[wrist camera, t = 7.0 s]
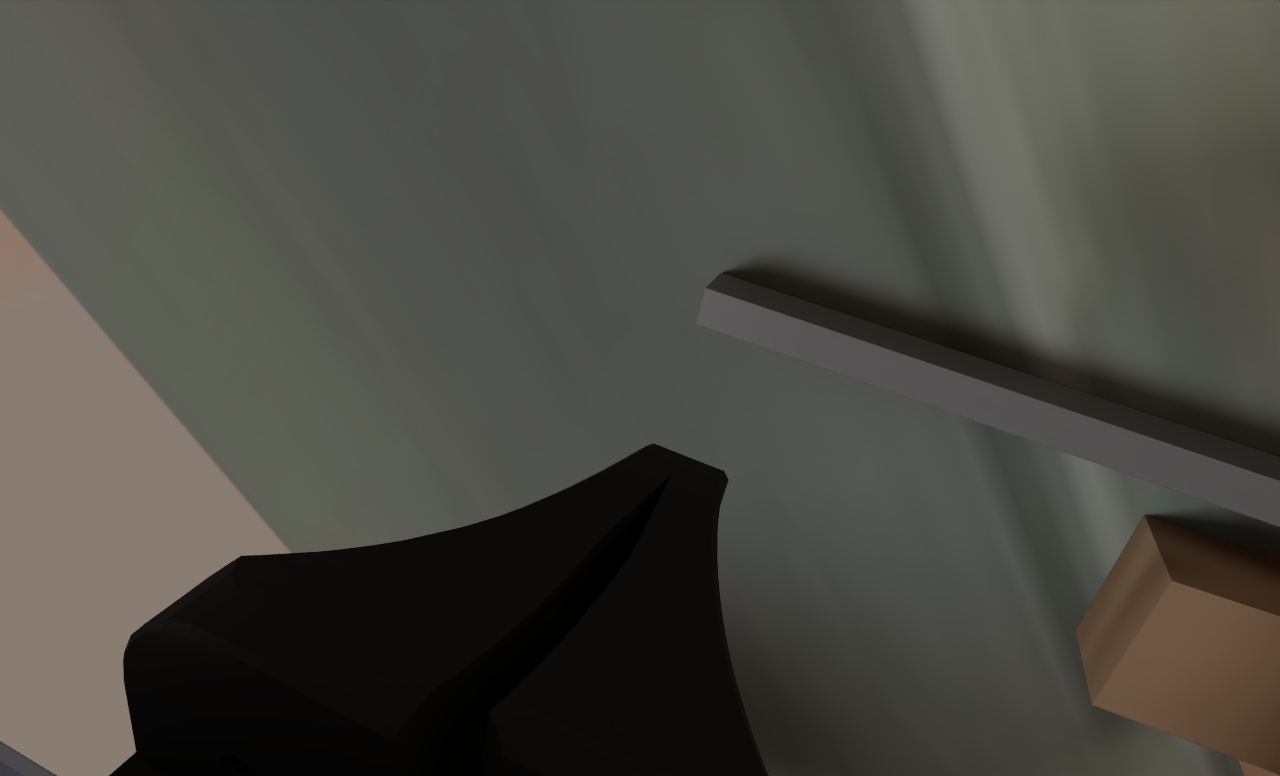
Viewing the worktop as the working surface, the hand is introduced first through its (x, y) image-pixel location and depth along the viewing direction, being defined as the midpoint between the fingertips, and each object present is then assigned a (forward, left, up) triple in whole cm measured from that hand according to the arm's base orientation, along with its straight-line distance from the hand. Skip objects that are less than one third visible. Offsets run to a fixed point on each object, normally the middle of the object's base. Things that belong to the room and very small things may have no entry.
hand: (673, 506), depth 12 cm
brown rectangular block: (+14, -4, -10) cm, 17 cm away
